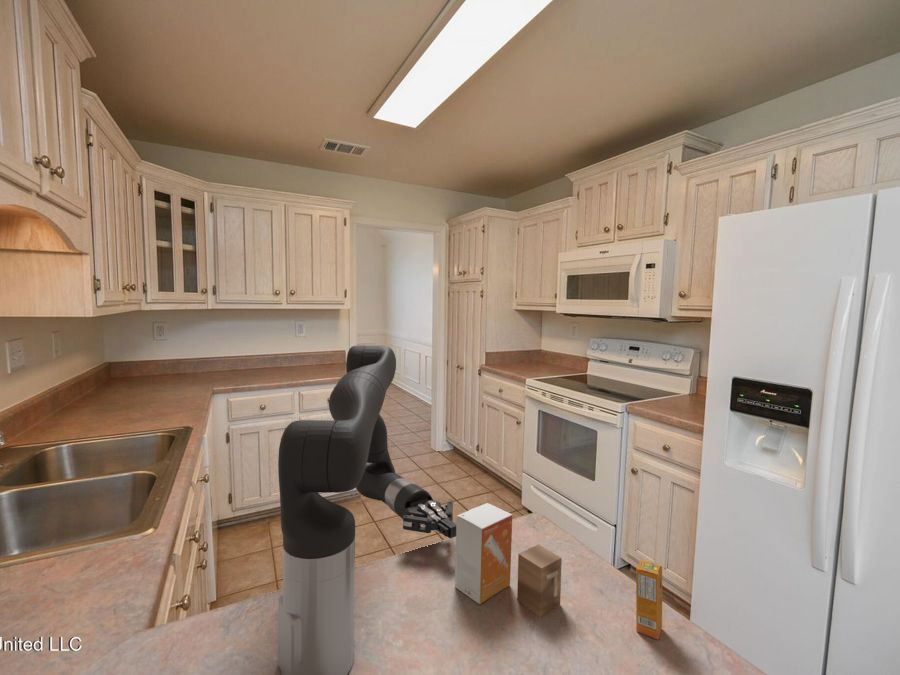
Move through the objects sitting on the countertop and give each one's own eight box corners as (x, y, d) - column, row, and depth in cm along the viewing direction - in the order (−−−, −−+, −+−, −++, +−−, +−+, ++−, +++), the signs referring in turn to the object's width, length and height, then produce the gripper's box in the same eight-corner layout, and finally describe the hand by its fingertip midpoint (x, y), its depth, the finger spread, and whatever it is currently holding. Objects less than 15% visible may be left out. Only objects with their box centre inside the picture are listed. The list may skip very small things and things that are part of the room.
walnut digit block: (541, 618, 66) (542, 569, 65) (517, 599, 70) (518, 553, 70) (561, 605, 69) (563, 558, 68) (537, 588, 73) (538, 544, 72)
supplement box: (638, 618, 66) (640, 557, 65) (662, 628, 64) (664, 565, 63) (633, 631, 63) (636, 567, 63) (658, 641, 61) (661, 575, 61)
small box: (480, 606, 68) (481, 528, 67) (453, 587, 73) (455, 514, 72) (511, 585, 74) (513, 513, 73) (485, 569, 78) (486, 501, 78)
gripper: (381, 490, 89) (425, 523, 75) (432, 477, 97) (480, 504, 83) (381, 524, 90) (425, 563, 76) (431, 508, 98) (479, 541, 84)
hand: (454, 532), depth 80 cm, fingers closed
